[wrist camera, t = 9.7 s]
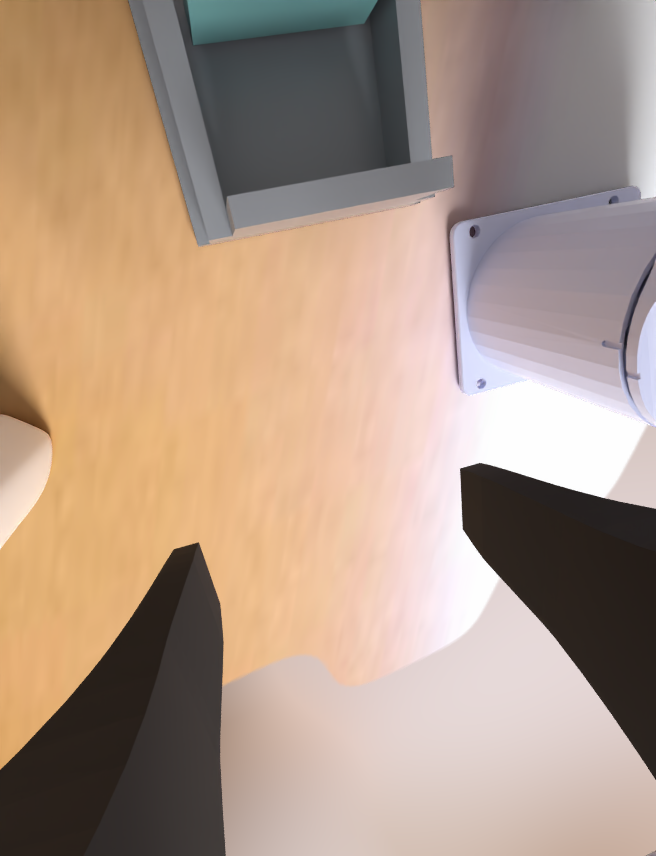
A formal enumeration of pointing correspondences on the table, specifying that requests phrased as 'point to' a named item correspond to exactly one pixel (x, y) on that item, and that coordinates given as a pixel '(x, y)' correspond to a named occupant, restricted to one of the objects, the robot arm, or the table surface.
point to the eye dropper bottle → (21, 471)
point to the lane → (294, 120)
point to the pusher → (269, 17)
